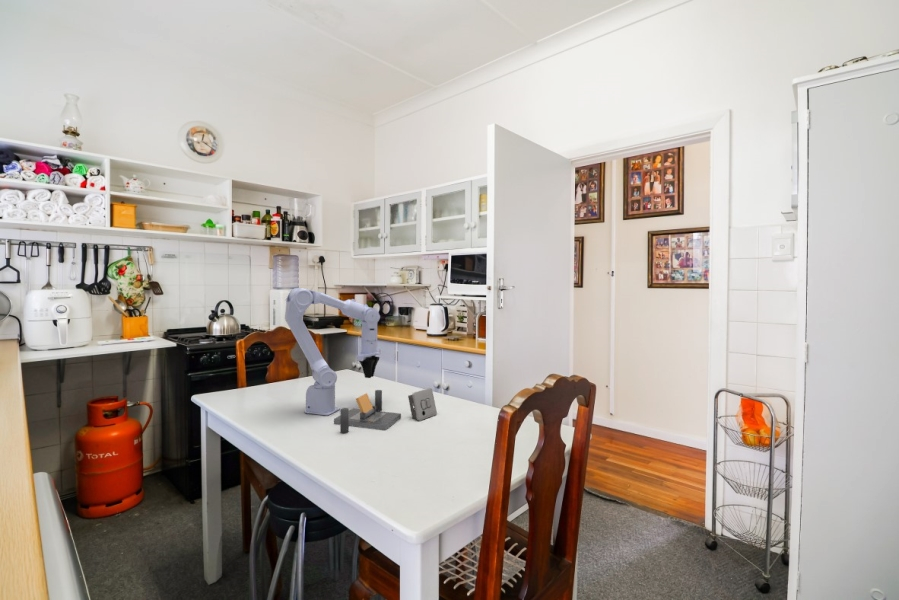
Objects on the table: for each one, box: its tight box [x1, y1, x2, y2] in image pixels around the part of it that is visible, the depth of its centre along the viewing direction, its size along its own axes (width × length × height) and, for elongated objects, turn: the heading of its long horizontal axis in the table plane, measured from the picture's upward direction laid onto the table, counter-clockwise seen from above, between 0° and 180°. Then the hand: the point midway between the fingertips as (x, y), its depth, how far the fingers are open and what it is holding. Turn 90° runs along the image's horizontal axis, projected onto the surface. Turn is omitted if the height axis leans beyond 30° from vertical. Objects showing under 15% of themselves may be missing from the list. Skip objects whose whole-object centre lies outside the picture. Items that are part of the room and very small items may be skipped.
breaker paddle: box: [355, 392, 375, 417], centre depth 142 cm, size 2×6×7 cm, turn 163°
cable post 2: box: [374, 389, 383, 412], centre depth 153 cm, size 2×2×7 cm
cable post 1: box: [339, 407, 350, 435], centre depth 131 cm, size 2×2×7 cm
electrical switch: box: [407, 387, 438, 422], centre depth 147 cm, size 9×5×9 cm, turn 141°
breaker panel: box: [333, 405, 402, 431], centre depth 141 cm, size 18×12×4 cm, turn 73°
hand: (369, 377), depth 159 cm, fingers closed
